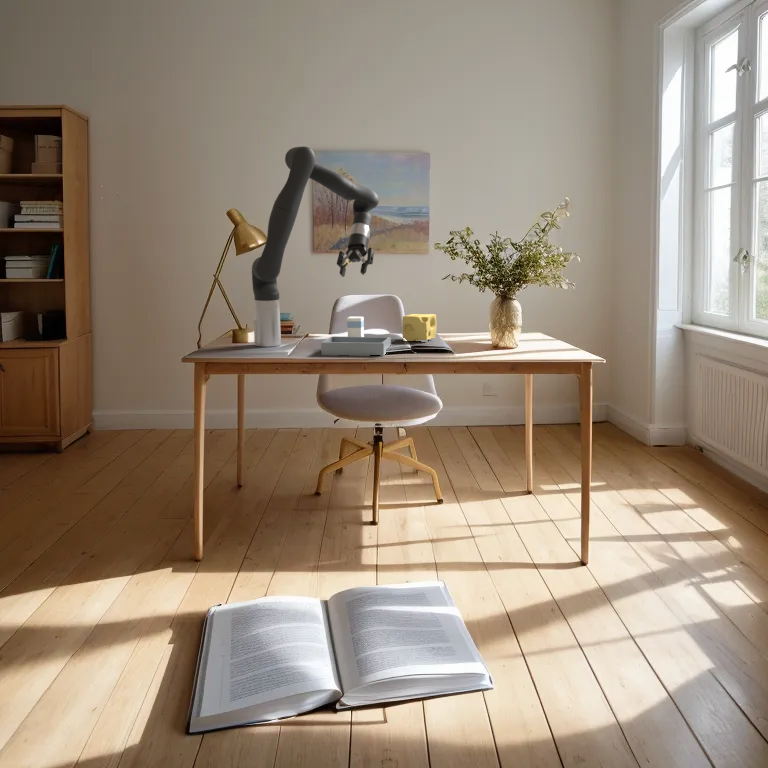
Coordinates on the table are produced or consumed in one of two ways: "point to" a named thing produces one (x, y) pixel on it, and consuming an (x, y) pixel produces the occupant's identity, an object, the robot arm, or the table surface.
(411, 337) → the cheese
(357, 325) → the milk carton
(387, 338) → the tray
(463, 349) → the table surface
